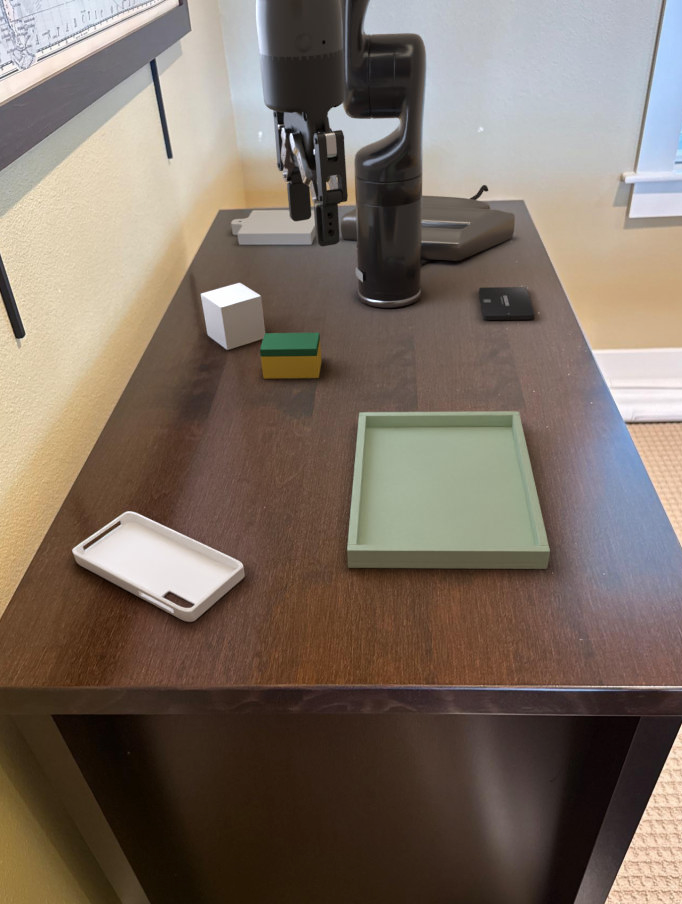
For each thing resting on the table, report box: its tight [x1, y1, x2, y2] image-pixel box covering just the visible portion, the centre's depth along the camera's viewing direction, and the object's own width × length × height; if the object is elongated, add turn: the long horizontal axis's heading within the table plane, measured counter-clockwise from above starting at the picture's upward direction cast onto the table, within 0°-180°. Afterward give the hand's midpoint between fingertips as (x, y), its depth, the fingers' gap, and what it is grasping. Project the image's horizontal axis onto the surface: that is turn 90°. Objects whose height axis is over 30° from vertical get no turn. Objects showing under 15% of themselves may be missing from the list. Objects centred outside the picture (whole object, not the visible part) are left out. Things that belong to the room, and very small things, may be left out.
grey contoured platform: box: [340, 194, 516, 262], centre depth 133 cm, size 28×5×28 cm
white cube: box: [200, 282, 266, 351], centre depth 105 cm, size 6×6×6 cm
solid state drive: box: [478, 286, 536, 321], centre depth 111 cm, size 7×10×1 cm
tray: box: [346, 410, 551, 570], centre depth 77 cm, size 24×18×2 cm
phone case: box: [71, 511, 246, 623], centre depth 70 cm, size 7×1×15 cm
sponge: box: [259, 332, 323, 380], centre depth 98 cm, size 5×7×4 cm, turn 87°
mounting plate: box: [230, 209, 316, 246], centre depth 140 cm, size 18×13×2 cm
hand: (313, 231), depth 79 cm, fingers open, 8 cm apart
